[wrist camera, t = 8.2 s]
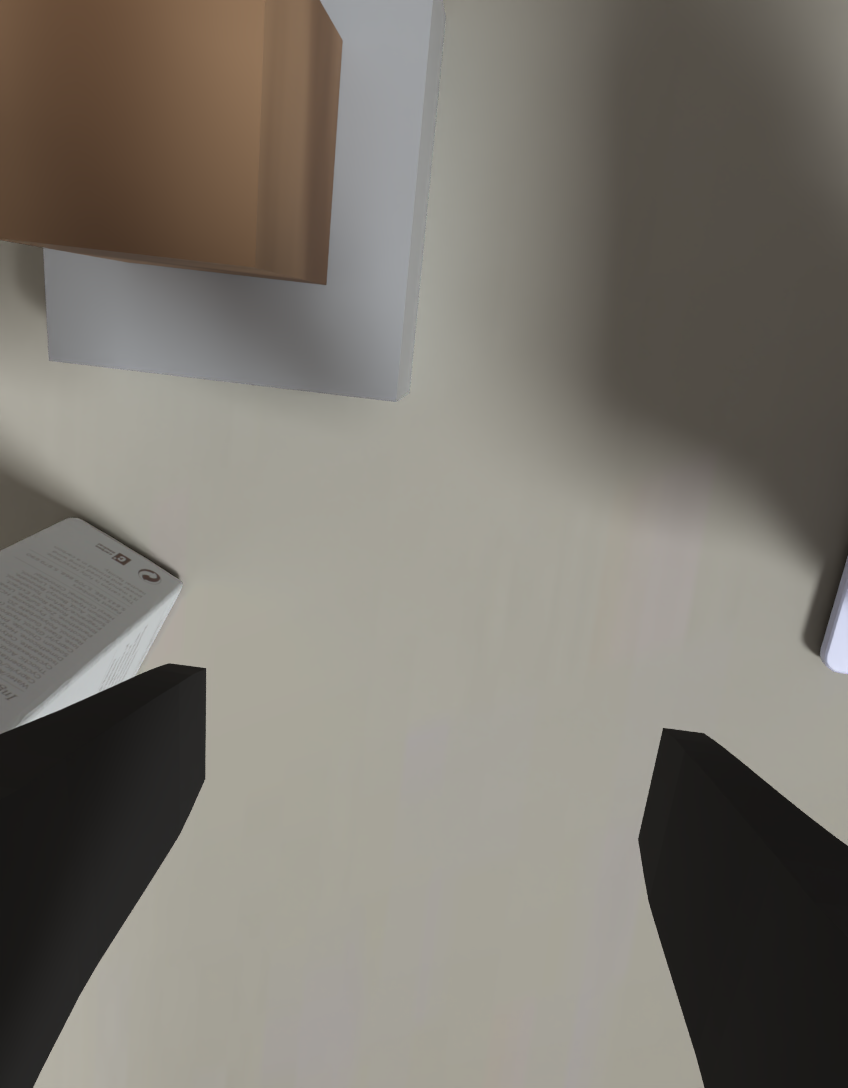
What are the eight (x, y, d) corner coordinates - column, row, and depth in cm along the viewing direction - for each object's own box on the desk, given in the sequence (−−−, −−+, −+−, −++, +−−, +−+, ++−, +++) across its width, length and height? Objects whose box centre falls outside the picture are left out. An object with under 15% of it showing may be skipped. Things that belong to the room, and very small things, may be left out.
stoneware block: (447, 24, 18) (436, -35, 15) (411, 391, 20) (395, 402, 17) (101, -2, 18) (26, -64, 15) (111, 356, 21) (49, 360, 18)
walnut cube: (342, 40, 15) (268, -90, 11) (326, 285, 17) (254, 267, 12) (121, 20, 16) (-47, -114, 11) (124, 261, 17) (-23, 236, 12)
